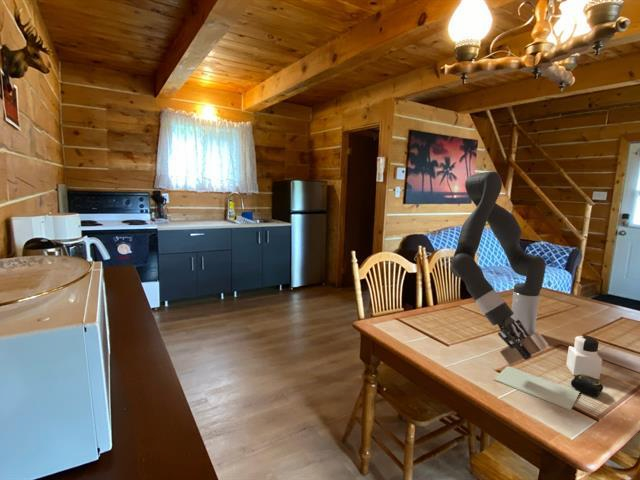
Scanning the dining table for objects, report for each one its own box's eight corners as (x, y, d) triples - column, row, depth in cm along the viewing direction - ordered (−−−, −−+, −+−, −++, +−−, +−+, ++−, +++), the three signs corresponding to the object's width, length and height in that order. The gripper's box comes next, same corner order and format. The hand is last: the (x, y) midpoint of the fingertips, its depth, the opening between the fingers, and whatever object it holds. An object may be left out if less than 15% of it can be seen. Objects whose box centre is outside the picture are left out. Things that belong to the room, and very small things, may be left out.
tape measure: (569, 389, 105) (570, 377, 104) (577, 382, 109) (579, 371, 108) (596, 401, 100) (598, 389, 99) (604, 393, 103) (606, 381, 103)
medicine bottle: (590, 369, 117) (595, 335, 115) (599, 380, 110) (605, 344, 108) (565, 365, 119) (570, 332, 117) (573, 375, 112) (578, 341, 110)
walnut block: (504, 347, 113) (537, 331, 106) (514, 360, 112) (548, 344, 104) (499, 351, 110) (533, 335, 103) (509, 364, 108) (544, 349, 101)
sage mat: (507, 366, 117) (507, 365, 117) (579, 393, 103) (580, 391, 103) (493, 380, 109) (493, 378, 109) (570, 410, 95) (570, 409, 95)
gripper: (495, 306, 105) (535, 358, 99) (511, 296, 115) (548, 343, 108) (475, 317, 110) (512, 368, 103) (492, 307, 120) (527, 353, 113)
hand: (531, 355), depth 106 cm, fingers closed on walnut block, 4 cm apart
